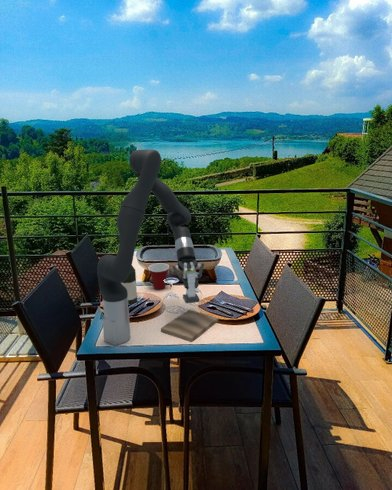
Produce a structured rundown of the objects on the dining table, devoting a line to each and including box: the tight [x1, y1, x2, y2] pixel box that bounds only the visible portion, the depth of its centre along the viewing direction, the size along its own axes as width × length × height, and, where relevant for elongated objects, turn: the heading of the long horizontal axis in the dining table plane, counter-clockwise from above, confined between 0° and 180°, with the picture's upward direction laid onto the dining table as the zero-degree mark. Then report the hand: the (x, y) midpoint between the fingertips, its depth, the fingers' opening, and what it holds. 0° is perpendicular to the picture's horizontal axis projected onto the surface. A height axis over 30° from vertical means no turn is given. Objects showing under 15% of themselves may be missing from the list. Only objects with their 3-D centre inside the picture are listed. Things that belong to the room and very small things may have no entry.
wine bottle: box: [121, 265, 138, 305], centre depth 167 cm, size 8×8×30 cm
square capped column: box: [182, 268, 200, 304], centre depth 146 cm, size 6×6×13 cm
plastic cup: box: [147, 262, 170, 291], centre depth 189 cm, size 11×11×12 cm
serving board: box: [160, 309, 219, 343], centre depth 149 cm, size 20×15×2 cm
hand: (192, 288), depth 144 cm, fingers closed on square capped column, 3 cm apart
